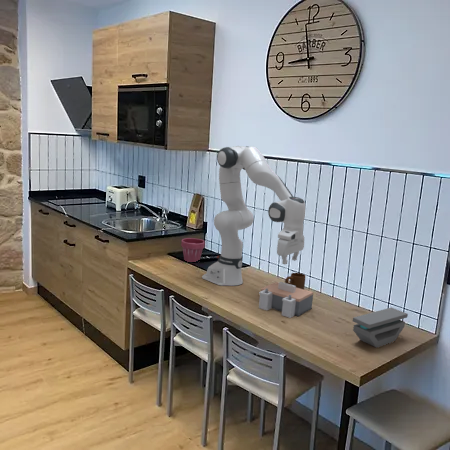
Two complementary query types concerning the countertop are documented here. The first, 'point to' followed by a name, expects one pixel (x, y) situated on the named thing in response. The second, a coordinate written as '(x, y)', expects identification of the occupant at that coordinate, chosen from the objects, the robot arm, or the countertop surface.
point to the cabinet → (285, 304)
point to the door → (286, 292)
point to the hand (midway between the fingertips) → (289, 262)
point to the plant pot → (192, 249)
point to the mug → (296, 280)
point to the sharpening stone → (379, 326)
